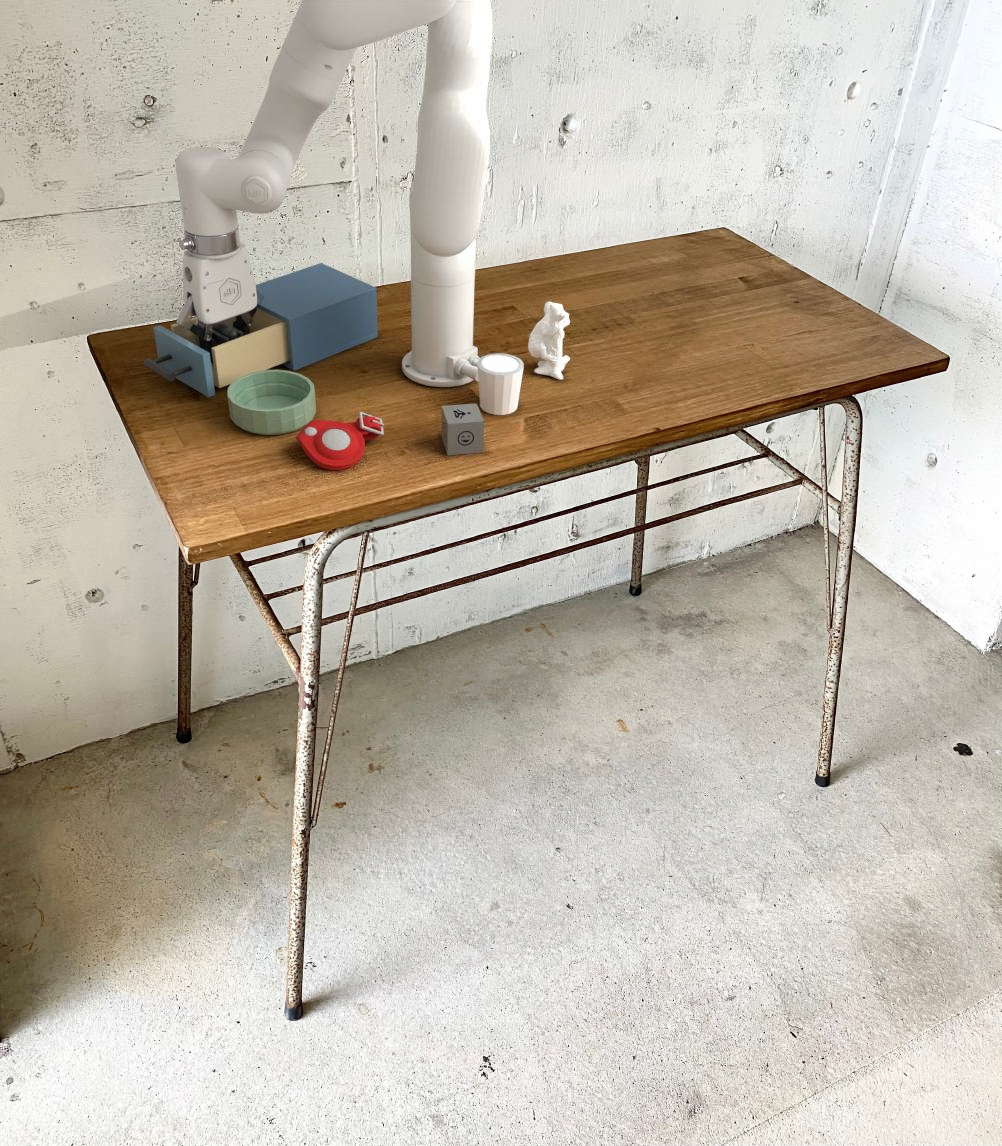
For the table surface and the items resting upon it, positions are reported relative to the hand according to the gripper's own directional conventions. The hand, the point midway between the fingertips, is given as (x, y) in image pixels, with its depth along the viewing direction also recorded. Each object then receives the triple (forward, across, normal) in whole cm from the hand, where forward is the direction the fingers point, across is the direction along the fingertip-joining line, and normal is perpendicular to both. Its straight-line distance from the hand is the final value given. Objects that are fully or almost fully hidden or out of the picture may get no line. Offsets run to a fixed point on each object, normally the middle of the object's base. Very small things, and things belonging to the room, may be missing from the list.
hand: (226, 353), depth 168 cm
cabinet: (+2, +15, -1) cm, 16 cm away
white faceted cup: (+3, +22, -37) cm, 43 cm away
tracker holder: (+3, -3, -31) cm, 31 cm away
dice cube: (+3, +10, -41) cm, 42 cm away
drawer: (+2, -3, -1) cm, 3 cm away
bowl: (+2, -4, -16) cm, 17 cm away
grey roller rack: (0, 0, 0) cm, 1 cm away
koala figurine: (+3, +36, -35) cm, 50 cm away
